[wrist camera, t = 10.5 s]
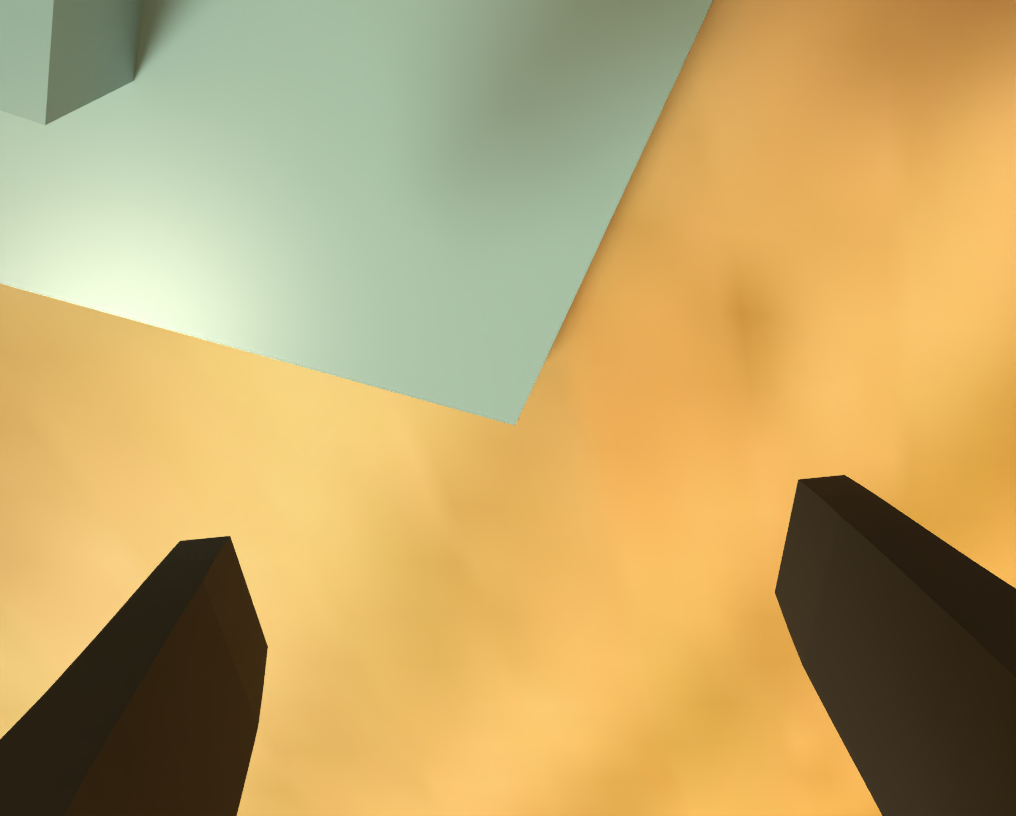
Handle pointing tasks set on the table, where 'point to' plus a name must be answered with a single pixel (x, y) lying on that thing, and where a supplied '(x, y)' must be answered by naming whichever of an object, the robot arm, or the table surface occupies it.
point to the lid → (332, 172)
